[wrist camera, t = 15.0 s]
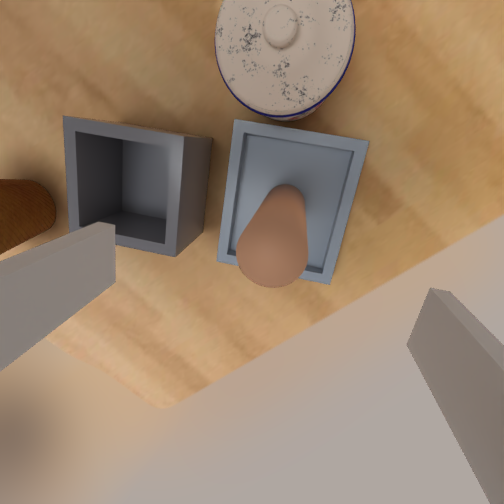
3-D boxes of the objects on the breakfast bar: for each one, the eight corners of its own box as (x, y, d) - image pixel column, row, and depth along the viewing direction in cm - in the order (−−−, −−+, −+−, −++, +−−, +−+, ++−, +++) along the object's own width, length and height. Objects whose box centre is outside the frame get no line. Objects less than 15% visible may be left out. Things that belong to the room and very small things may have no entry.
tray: (239, 120, 30) (234, 118, 28) (364, 141, 29) (369, 141, 26) (222, 253, 35) (216, 261, 32) (327, 275, 34) (329, 284, 31)
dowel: (268, 181, 30) (241, 212, 16) (308, 188, 30) (316, 226, 16) (261, 219, 32) (231, 279, 18) (300, 227, 31) (299, 293, 17)
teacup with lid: (300, 143, 30) (299, 143, 19) (221, 89, 29) (173, 58, 18) (384, 13, 25) (446, -84, 15) (293, -53, 25) (287, -204, 14)
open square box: (118, 122, 32) (62, 115, 24) (212, 138, 31) (184, 136, 23) (118, 215, 35) (69, 235, 28) (202, 232, 34) (175, 257, 27)
